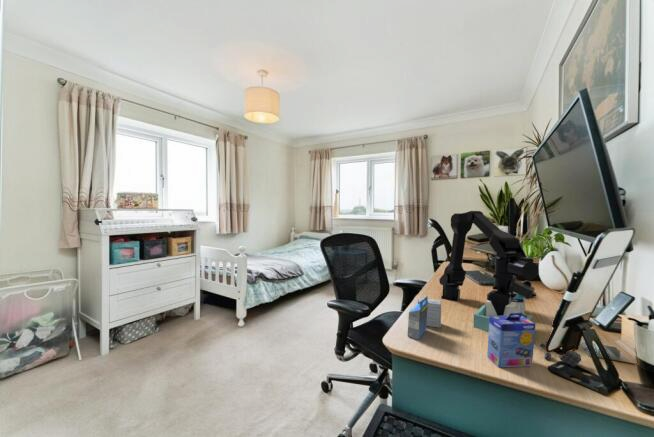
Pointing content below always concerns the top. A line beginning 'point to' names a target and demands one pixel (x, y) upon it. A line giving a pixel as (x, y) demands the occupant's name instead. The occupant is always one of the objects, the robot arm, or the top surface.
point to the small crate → (509, 309)
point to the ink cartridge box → (511, 340)
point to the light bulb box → (519, 300)
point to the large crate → (487, 319)
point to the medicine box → (433, 312)
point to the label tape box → (418, 319)
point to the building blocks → (564, 356)
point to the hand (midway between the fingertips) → (502, 316)
